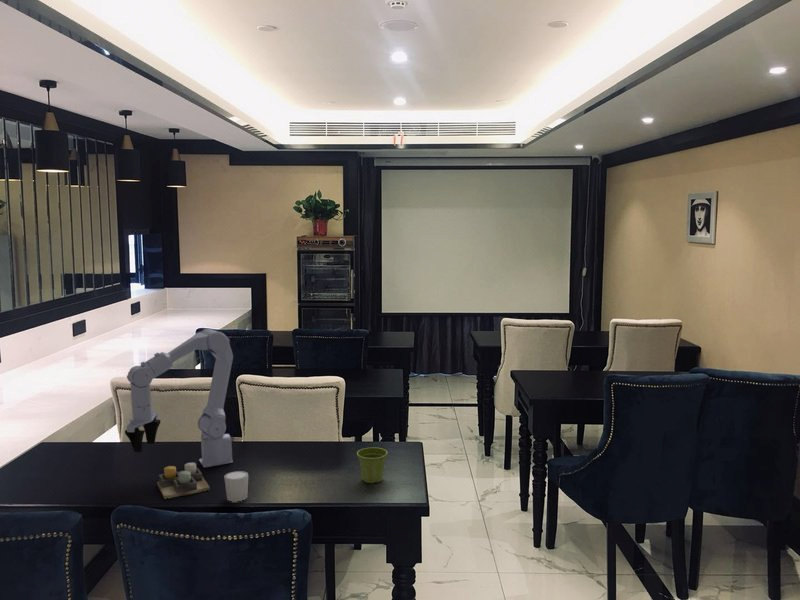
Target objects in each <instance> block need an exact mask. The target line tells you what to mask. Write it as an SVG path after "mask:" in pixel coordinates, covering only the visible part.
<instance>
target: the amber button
mask: <svg viewBox="0 0 800 600" xmlns="http://www.w3.org/2000/svg"><path fill="white" fill-rule="evenodd" d="M163 471H164V473H163V474H164V476H165V479H171V478H176V472H177V467H176V466H175V465H168V466H166V467H164V468H163Z"/></svg>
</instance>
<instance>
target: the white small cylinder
mask: <svg viewBox="0 0 800 600" xmlns="http://www.w3.org/2000/svg"><path fill="white" fill-rule="evenodd" d="M196 468H197V462H187V463H185V464H184V470H185V471H189V472H191V475H193V474H197V471H196Z"/></svg>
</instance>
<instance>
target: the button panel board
mask: <svg viewBox="0 0 800 600" xmlns="http://www.w3.org/2000/svg"><path fill="white" fill-rule="evenodd" d="M183 471H185V469H184V470H180V471H176V478H171V479H165V476H164V473H162V474H158V477H159V481H157V483H156V484H157V487H158V490H159V491H160V493H161V495H162V498H163V499H164V500H167V498H168V499H172V498H177V497H182V496H188V495H192V494H197V493H202V491H203V492H208V491H211V487H210V485H209V484H208V482H207V481H206V480H205V478H204V476H203V473H202V471H201V470H200V468H199V467H196V471H197V474H193V475H191V483H188V484H182V485H180V484H179V473H180V472H183ZM207 490H208V491H207Z"/></svg>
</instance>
